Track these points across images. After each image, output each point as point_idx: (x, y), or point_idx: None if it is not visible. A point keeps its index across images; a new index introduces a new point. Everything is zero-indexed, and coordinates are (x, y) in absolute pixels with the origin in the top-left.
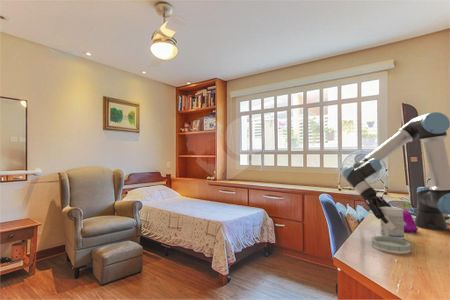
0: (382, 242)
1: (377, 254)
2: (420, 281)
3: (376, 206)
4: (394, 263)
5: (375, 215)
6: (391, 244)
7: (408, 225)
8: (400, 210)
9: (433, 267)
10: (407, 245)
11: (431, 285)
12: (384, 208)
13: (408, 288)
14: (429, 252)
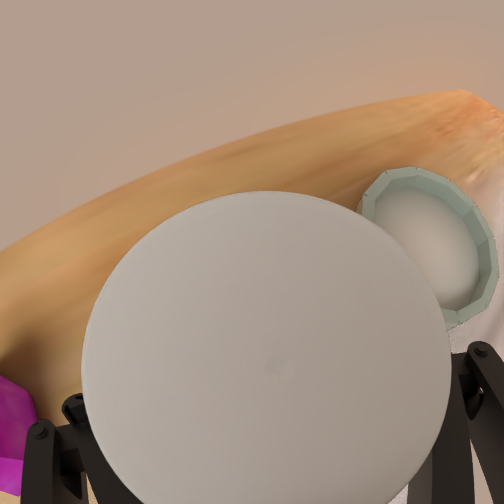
0: (437, 288)
1: (497, 226)
2: (475, 114)
3: (463, 502)
4: (484, 168)
5: (481, 393)
6: (418, 250)
7: (3, 394)
8: (273, 195)
9: (408, 114)
10: (409, 170)
11: (466, 102)
12: (433, 382)
13: (501, 119)
14: (301, 160)
